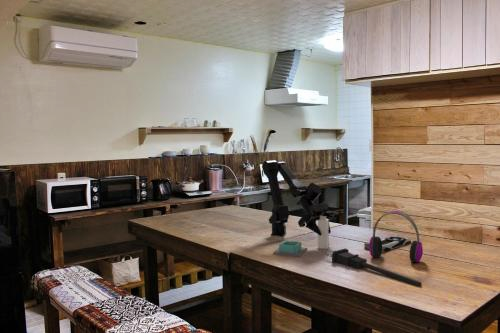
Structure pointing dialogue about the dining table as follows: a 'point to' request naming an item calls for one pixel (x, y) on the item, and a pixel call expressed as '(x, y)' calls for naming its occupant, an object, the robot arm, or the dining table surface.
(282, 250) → the holder board
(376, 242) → the headphones
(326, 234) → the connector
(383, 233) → the dining table surface
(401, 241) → the graphics card
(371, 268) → the electrical plug
